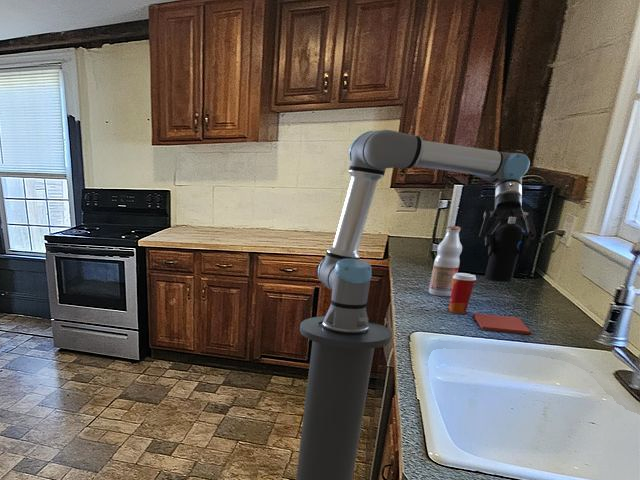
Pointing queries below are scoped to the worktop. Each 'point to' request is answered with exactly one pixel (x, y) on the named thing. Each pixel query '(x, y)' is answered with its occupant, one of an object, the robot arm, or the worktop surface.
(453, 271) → the fruit juice
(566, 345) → the worktop surface
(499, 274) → the aerosol can
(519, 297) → the worktop surface
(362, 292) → the robot arm
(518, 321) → the pad
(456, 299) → the paper cup
